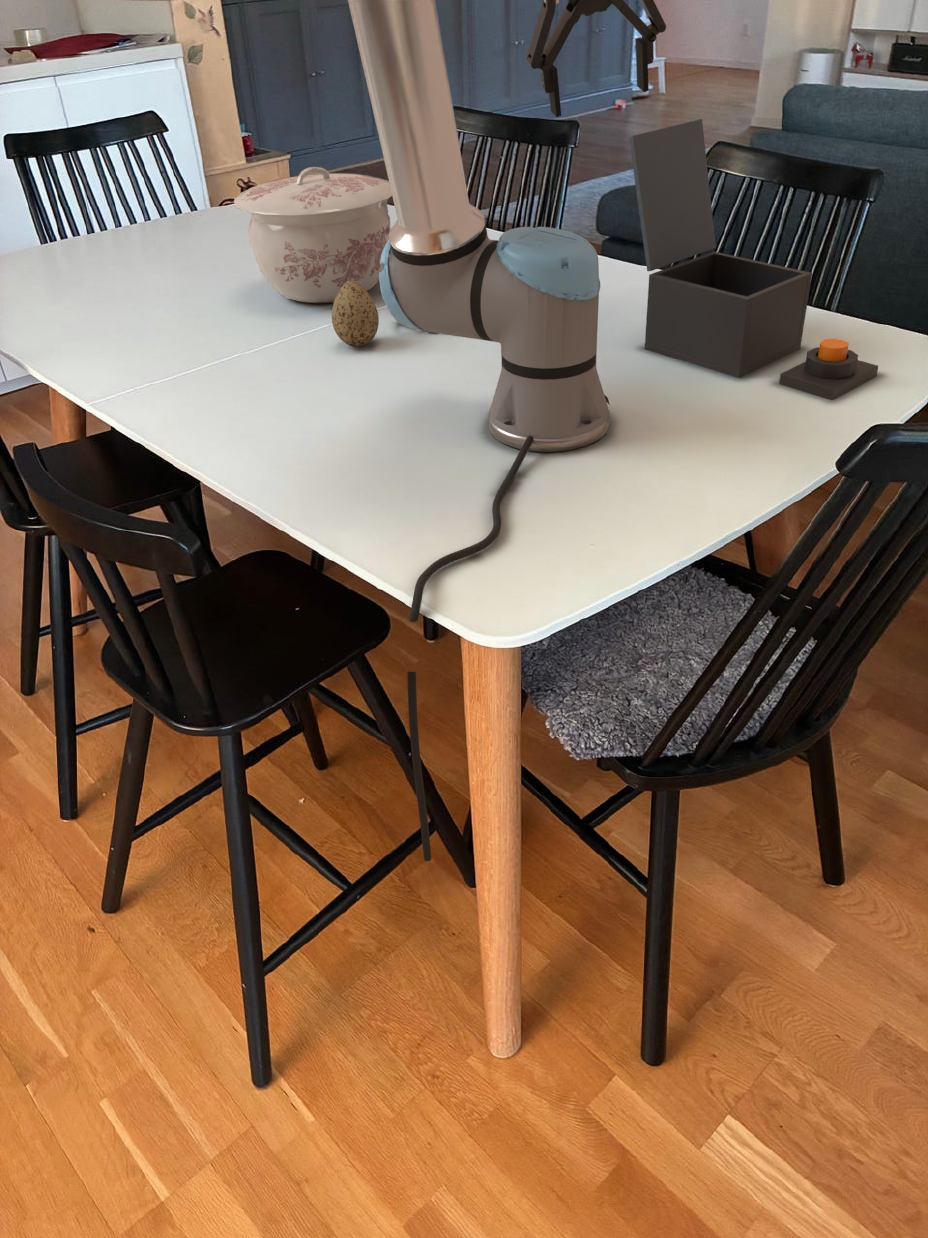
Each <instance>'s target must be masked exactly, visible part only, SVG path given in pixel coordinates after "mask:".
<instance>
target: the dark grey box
mask: <svg viewBox="0 0 928 1238" xmlns="http://www.w3.org/2000/svg"><path fill="white" fill-rule="evenodd" d="M812 276H813V272H810V271H806V270H801V269H795V268H790V267H787V266H782V265H777V264H773V263H768V262H764V261H761V260H760V261H759V260H754V259H751V258H746V257H741V256H736V255H732V254H727V253H722V252H718V251H710V252H709V253H706V254H702V255H700V256H697V257H694V258H692V259H689V260H686V261H684V262H680V263H678V264H675V265H672V266H670V267H669V266H668V267H667V268H663V269H661V270H658V271H655V272H653V273H650V274H648V287H647V288H648V289H647V303H646V304H647V306H646V320H645V323H646V324H645V337H644V350H647V351H650V352H653V353H657V354H659V355H663V356H665V357H669V358H672V359H676V360H679V361H683V362H686V363H688V364H693V365H696V366H699V367H702V368H705V369H708V370H712V371H715V372H718V373H721V374H724V375H728V376H730V377H733V378H737V379H740V378H742V377H744V376H747V375H748V374H750V373H753V372H754V371H757V370H759V369H761V368H763V367H765V366H766V365H769V364H772V363H773V362H776V361H778V360H780V359H781V358H783V357H786V356H789V355H790V354H792V353H794V352H796V351H798V350H800V349H801V345H802V340H803V333H804V327H805V321H806V315H807V308H808V302H809V295H810V289H811V283H812Z"/></svg>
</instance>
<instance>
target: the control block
mask: <svg viewBox="0 0 928 1238" xmlns="http://www.w3.org/2000/svg"><path fill="white" fill-rule="evenodd" d="M818 352H819V347H817V346H816V347H814V348H811V349H810V350H807V351H806V357H805V361H804V362H802V363H800V364H798V365H795V366H794V367H792V368H789V369H788V370H787V369H786V370H785V371H783V372H781V373H780V375H779V382H778V384H779V385H781V386H783V387H787V388H791V389H793V390H797V391H800V392H804V393H807V394H810V395H814V396H816V397H820V398H823V399H826V400H830V401H833V400H835V399H837V398H838V397H840V396H842V395H844V394H845V393H847V392H849V391H851V390H853V389H856V388H857V387H858V386H861V385H863V384H865V383H866V382H868V381H870V380H871V379H873V378H875V377H877V375H878V371H879V365H877V364H874V363H870V362H867V361H862V360H859V355H858V354H857V353H856V352H855V351H853V350H851V349H848V351H847V356H846V360H844V361H826V360H822V359H819V358H818Z"/></svg>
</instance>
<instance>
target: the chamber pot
mask: <svg viewBox="0 0 928 1238" xmlns="http://www.w3.org/2000/svg"><path fill="white" fill-rule="evenodd" d="M391 197H393V196H392V192H391V188H390V183H389V180H388V179H383V178H381V177H378V176H372V175H369V174H361V173H350V172H349V173H347V172H346V173H345V172H343V173H342V172H329V171H328V170H327V169H325V168H324V167H319V166H310V167H307V168H304V169H303V170H302V171H300V173H299V175H294V176H288V177H283V178H277V179H274V180H269V181H266V182H263V183H259V184H258V185H255V186H252V187H251V188H248V189H246V190H244V191H242V192H240V193H238V195H237V196H236V197H235V198H234V200H233V203H234V205H235V207H236V208H237V209H238V210H241V211H243V212H245V213H248V214H251V218H250V220H249V224H248V226H247V235H248V240H249V245H250V248H251V250H252V253H253V256H254V259H255V261H256V264H257V267H258V269H259V271H260V273H261V274H262V275H263V276H264V278H265V279H266V280H267V282H268V283H269V284H270V285H271V286H272V287H273V288H274V290H275V291H276V292H277V293H278V294H280V295H281V296H283V297H285V298H287V299H288V300H294V301H297V302H302V303H305V304H306V303H307V304H331V303H334V300H335V298H336V296H337V294H338V292H339V290H340V289H341V288H342V286H343V285H344V284H345V283H346V282H348V281H356V282H358V283H359V284H360V285H361V286H362V287H364V288H365V289H366V290H367V292H369V291H370V290H371V289H372V288H374V286H376V285H377V283H378V281H379V273H380V272H382V266H381V265H380V259H381V255H382V252H383V249H384V247H385V245H386V243H387V242H388V240H389V232H390V230H391V228H392V224H391V216H390V215H389V208H388V201H389V199H390V198H391Z"/></svg>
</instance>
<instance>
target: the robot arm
mask: <svg viewBox="0 0 928 1238" xmlns="http://www.w3.org/2000/svg"><path fill="white" fill-rule="evenodd" d="M638 1H639V3H640V4H641V7H642V9H643V11H644V13H645V15H646V17H647V18H648V20H649V23H650V24H648V25H647V24H646V23H645V21H644V20H643V19H641V18H640V16H638V14H637V13H636V12H635V11H634V10H633V9H632V8H631V7H630V6H629V5H628V4H627V3H626V1H624V0H567V2H566V3H565V6H564V8H563V10H562V13H561V16H560V19H559V20H558V23H557V24H556V26H555V27H554V30H553V32H552V33H551V35H550V37H549V33H550V30H551V27H552V23H553V20H554V16H555V12H556V7H557V5H559V3H560V0H541V6H540V9H539V14H538V17H537V20H536V23H535V27H534V30H533V34H532V37H531V40H530V44H529V48H528V51H527V54H526V57H525V61H526V63H527V64H528V65H529V66H530V67H531V68H532V69H533V70H537V69H538V70H540V81H541V88H542V90H543V92H544V93H545V94H548V96H549V106H550V112H551V114H553V115H554V116H555V118H560V117H562V107H561V98H560V95H561V94H560V84H559V75H558V68H557V67H556V66H555V65H554V64H555V61H556V59H557V58H558V56H559V53H560V52H561V50H562V48H563V47H564V44H565V43H566V41H567V39H568V37H569V35H570V33H571V32H572V30H573V28H574V26H575V25H576V24H577V23H578V22H579V20H580V18H581V16H585V17H589V16H592V15H594V14H595V13H602V12H607V11H608V9H609V8H610V6H613V8H614V9H615V10H616V11H617V12H618V13H619V14H620V15H621V16H622V17H623V18H624V19H625V20H626V21H627V22H628V24H630V25H631V27H633V29H635V30H636V32H638V34H639V35H640V36H641V37H637V38H634V39H635V40H634V41H635V66H636V68H635V69H636V87H637V88H638V89H639V90H640V91H642V92H643V93H646V92H649V65H651V64H653V63H654V59H655V58H654V57H655V56H654V43H655V42H656V40H657V35H659V34H660V33H664V32H665V31H666V29H667V24H666V22H665V20H664V18H663V16H662V14H661V12H660V10H659V8H658V7H657V5H656V3H655V0H638ZM347 3H348V7H349V11H350V16H351V20H352V24H353V28H354V33H355V37H356V41H357V47H358V51H359V55H360V59H361V64H362V68H363V73H364V77H365V81H366V84H367V85H366V86H367V91H368V94H369V95H368V96H369V99H370V104H371V107H372V113H373V117H374V121H375V127H376V130H377V134H378V139H379V144H380V148H381V152H382V156H383V161H384V166H385V169H386V174H387V180H388V181H389V183H390V188H391V192H392V196H391V197H392V200H393V204H394V209H395V213H396V218H397V219H396V221H395V222H394V223H393V225H392V226H391V230H390V232H389V240H388V242H387V243H386V245H385V247H384V249H383V252H382V255H381V259H380V265H381V266H382V272H380V273H379V279H378V281H379V288H380V292H381V297H382V300H383V302H384V305H385V307H386V309H387V310H388V312H389V313H390V315H391V316H392V317H393V318H394V320H396V321H397V322H398V323H399V324H400V325H401V324H402V325H403V326H404V327H406V328H409V329H412V330H416V331H419V332H421V333H427V334H428V335H445V336H453V337H461V338H467V339H473V340H481V341H487V342H493V343H499V344H500V353H501V370H500V373H499V376H498V381H497V384H496V387H495V390H494V394H493V397H492V401H491V404H490V407H489V411H488V430H489V432H490V434H491V435H492V437H493V438H495V439H496V440H497V441H499V442H500V443H502V444H505V445H506V446H509V447H512V448H514V449H518V450H519V452H518V454H517V455H516V458H515V459H514V462H513V463H512V465H511V467H510V469H509V471H508V473H507V474H506V476H505V478H504V479H503V481H502V483H501V484H500V486H499V488H498V490H497V492H496V494H495V496H494V499H493V502H492V507H491V508H492V509H491V512H492V513H491V514H492V521H493V526H492V529H491V531H490V532H489V534H488V535H487V536H486V537H485V538H484V539H482V540H481V541H479V542H477V543H474V544H472V545H470V546H467V547H465V548H462V549H459V550H457V551H454V552H450V553H448V554H447V555H444V556H442V557H440V558H438V559H437V560H436V561H434V562H432V564H430V565H429V566H428V567H427V568H426V569H425V570H424V571H423V572H421V574H420V575H419V577H418V578H417V580H416V583H415V587H414V590H413V596H412V602H411V607H410V612H409V618H408V620H409V622H411V623H416V622H417V621H419V615H420V610H421V606H422V600H423V594H424V589H425V587H426V584H427V582H428V581H429V579H431V577H433V575H434V574H435V573H437V571H438V570H440V569H442V568H443V567H445V566H447V565H450V564H451V563H454V562H456V561H459V560H461V559H464V558H466V557H470V556H472V555H475V554H477V553H479V552H481V551H483V550H485V549H486V548H488V547H489V546H490V545H492V544H493V543H494V542H495V541H496V539H497V538H498V537H499V536H500V533H501V530H502V517H501V505H502V502H503V500H504V497H505V495H506V493H507V491H508V489H509V487H510V486H511V484H512V483H513V481H514V479H515V477H516V475H517V473H518V472H519V469H520V468H521V466H522V464H523V461H524V459H525V458H526V455H527V454H528V452H529V451H531V452H547V453H549V452H563V451H569V450H574V449H575V450H576V449H580V448H582V447H586V446H589V445H590V444H593V443H595V442H598V440H600V439H601V438H603V437H604V436H605V435H606V433H607V432H608V430H609V426H610V425H609V424H610V409H609V406H610V405H611V404H610V400H609V397H608V396H607V395H606V394H605V393H604V389H603V386H602V383H601V379H600V375H599V373H598V369H597V351H598V346H597V345H598V327H599V326H598V325H599V302H600V301H599V299H600V290H601V280H600V274H599V273H600V269H599V268H600V267H599V255H598V253H597V250H596V249H595V247H594V245H593V244H591V243H590V241H588V240H587V239H586V238H584V237H582V236H580V235H579V234H576V233H574V232H571V231H567V230H564V229H560V228H555V227H548V226H537V227H532V226H521V227H520V226H519V227H515V228H511V229H508V230H506V231H504V232H502V233H501V235H500V237H499V238H498V239H490V238H489V235H488V230H487V225H486V217H485V215H484V213H483V211H481V210H480V209H479V208H477V207H475V206H474V205H473V204H472V203H470V200H469V195H468V194H469V192H468V188H467V181H466V177H465V169H464V164H463V163H464V162H463V157H462V153H461V146H460V141H459V134H458V128H457V123H456V122H457V121H456V117H455V110H454V105H453V99H452V92H451V86H450V81H449V75H448V74H449V73H448V69H447V63H446V57H445V51H444V45H443V40H442V34H441V28H440V21H439V16H438V9H437V5H436V4H437V3H436V0H347ZM548 37H549V39H548ZM547 40H548V41H547ZM608 405H609V406H608ZM407 709H408V727H409V741H410V750H411V761H412V770H413V778H414V786H415V787H414V788H415V793H416V801H417V810H418V817H419V825H420V826H419V827H420V833H421V844H422V853H423V861H424V862H430V861H431V860H432V850H431V839H430V837H431V836H430V828H429V819H428V810H427V803H426V794H425V787H424V778H423V777H424V776H423V770H422V760H421V752H420V751H421V750H420V737H419V722H418V721H419V720H418V699H417V671H407Z"/></svg>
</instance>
